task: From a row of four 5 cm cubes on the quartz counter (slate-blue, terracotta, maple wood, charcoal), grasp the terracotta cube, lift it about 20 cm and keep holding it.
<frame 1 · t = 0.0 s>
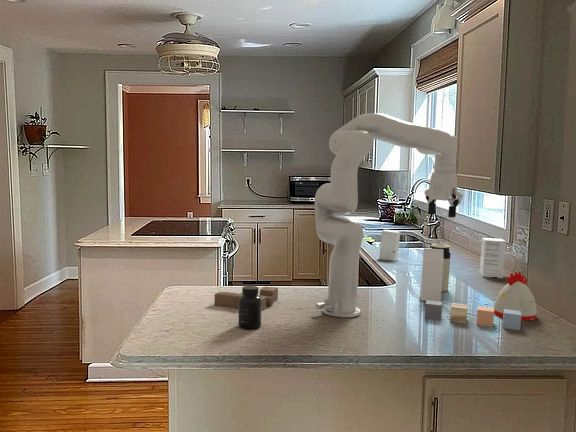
hand: (441, 215, 213), 31 cm above the countertop, fingers open, 9 cm apart
kitchen timer: (514, 315, 198), on the countertop
supplement box: (491, 276, 264), on the countertop
milk carton: (430, 299, 215), on the countertop
skincare box: (388, 259, 295), on the countertop
wooden block set: (247, 304, 200), on the countertop
travel mug: (437, 290, 232), on the countertop
maple block: (458, 320, 188), on the countertop
terracotta block: (484, 324, 186), on the countertop
supplement bottle: (249, 327, 173), on the countertop
charcoal block: (433, 317, 191), on the countertop
slate block: (511, 327, 183), on the countertop
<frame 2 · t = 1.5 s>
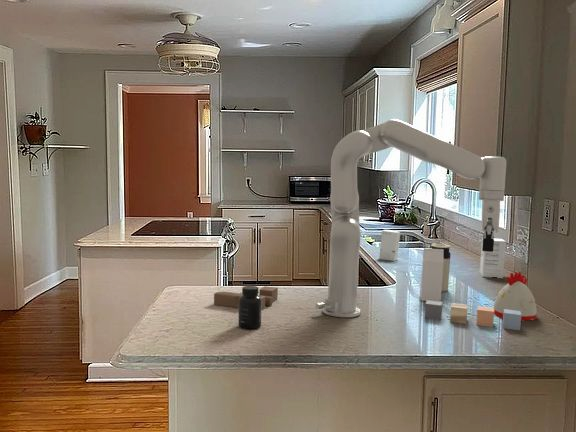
hand: (487, 249, 185), 24 cm above the countertop, fingers open, 9 cm apart
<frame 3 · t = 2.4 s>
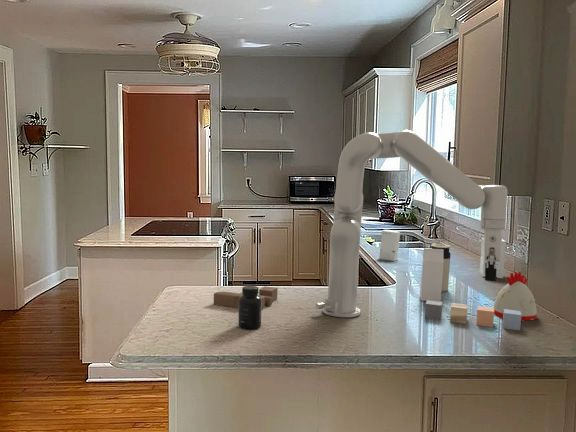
hand: (490, 277, 184), 15 cm above the countertop, fingers open, 9 cm apart
nothing on the countertop moved.
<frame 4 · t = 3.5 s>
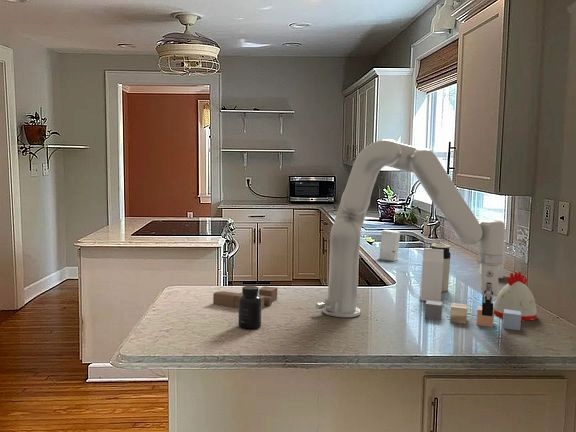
hand: (487, 311, 185), 4 cm above the countertop, fingers open, 9 cm apart
nothing on the countertop moved.
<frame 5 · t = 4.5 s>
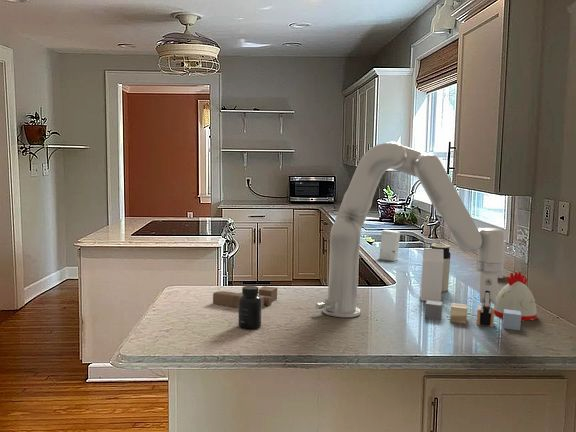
hand: (484, 322, 186), 0 cm above the countertop, fingers closed on terracotta block, 5 cm apart
terracotta block: (484, 323, 186), on the countertop, touching gripper
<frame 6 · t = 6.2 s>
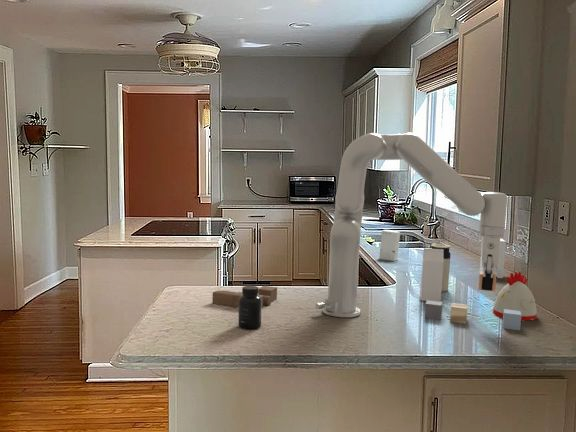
hand: (486, 287, 185), 12 cm above the countertop, fingers closed on terracotta block, 4 cm apart
terracotta block: (486, 289, 185), point 11 cm above the countertop, touching gripper
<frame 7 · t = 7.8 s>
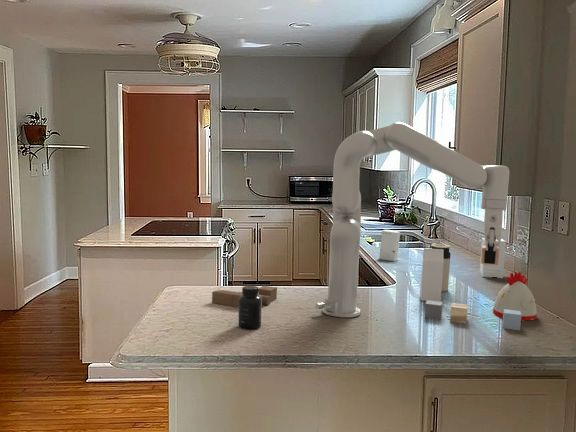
hand: (489, 261, 184), 20 cm above the countertop, fingers closed on terracotta block, 4 cm apart
terracotta block: (489, 262, 184), point 20 cm above the countertop, touching gripper
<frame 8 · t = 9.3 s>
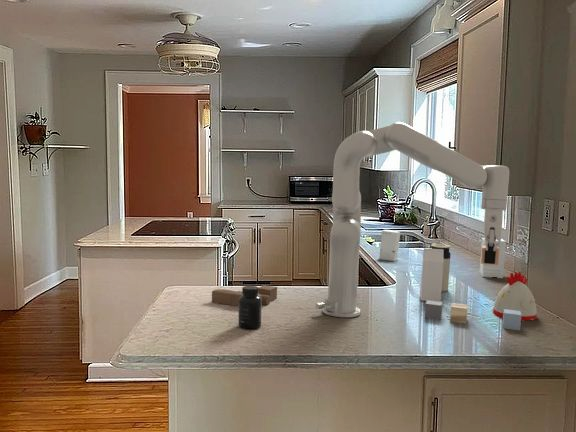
hand: (489, 261, 184), 20 cm above the countertop, fingers closed on terracotta block, 4 cm apart
terracotta block: (489, 262, 184), point 20 cm above the countertop, touching gripper
at the end: the gripper is holding terracotta block; terracotta block point 19.8 cm above the countertop; maple block moved 0.1 cm from its start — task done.
